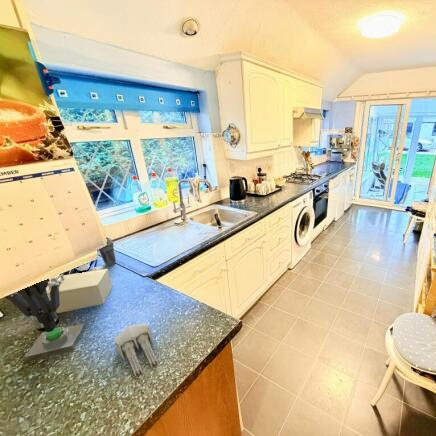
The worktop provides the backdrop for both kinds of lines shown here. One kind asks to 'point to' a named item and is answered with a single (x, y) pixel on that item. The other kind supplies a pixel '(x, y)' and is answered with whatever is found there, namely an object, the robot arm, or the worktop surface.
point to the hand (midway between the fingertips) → (51, 328)
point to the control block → (56, 343)
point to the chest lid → (79, 280)
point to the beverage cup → (108, 253)
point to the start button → (54, 334)
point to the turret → (135, 345)
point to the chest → (85, 296)
